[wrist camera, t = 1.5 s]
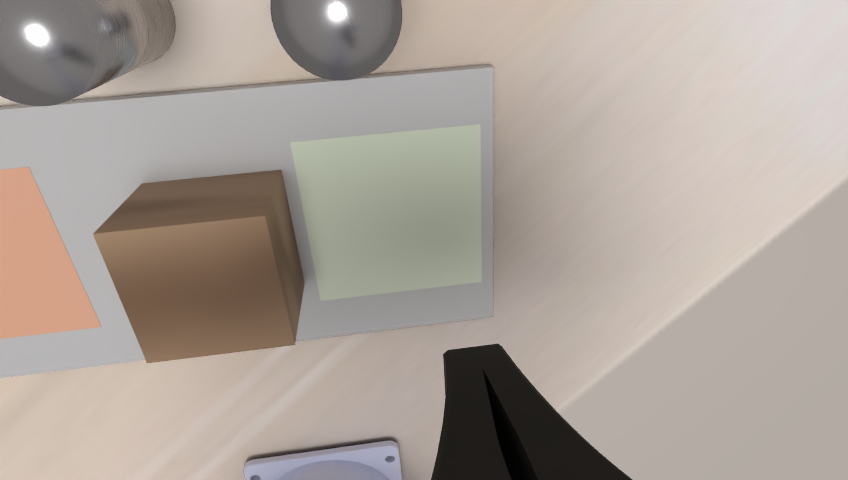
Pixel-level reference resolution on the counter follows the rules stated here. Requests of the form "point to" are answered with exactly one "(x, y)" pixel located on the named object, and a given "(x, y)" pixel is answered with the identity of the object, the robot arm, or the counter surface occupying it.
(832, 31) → the counter surface
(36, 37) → the metal peg
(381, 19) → the metal peg
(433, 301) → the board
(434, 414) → the counter surface
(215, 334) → the walnut block
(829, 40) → the counter surface
